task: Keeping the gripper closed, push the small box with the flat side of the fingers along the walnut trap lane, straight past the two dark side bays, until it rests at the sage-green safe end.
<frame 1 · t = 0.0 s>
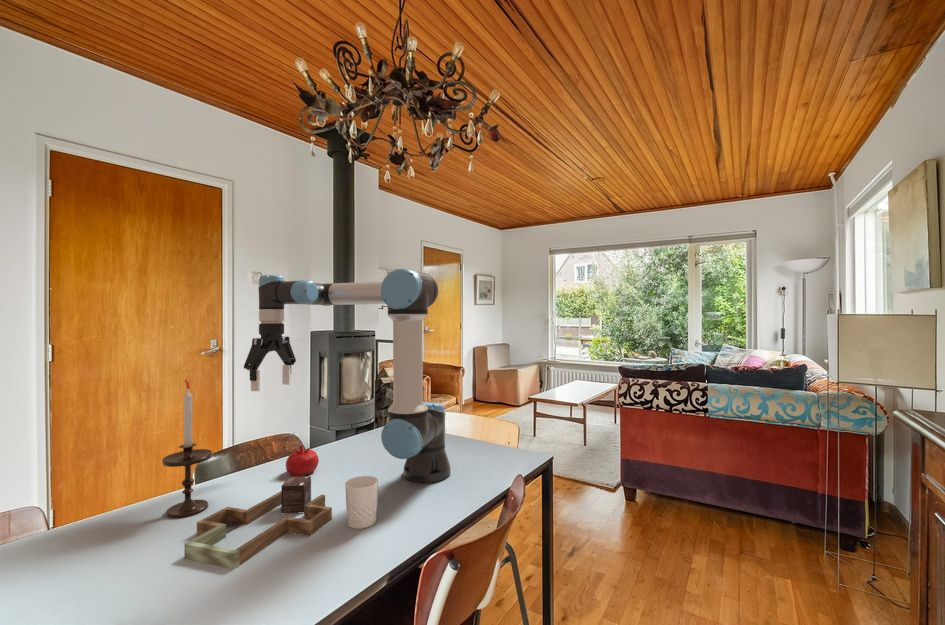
hand: (271, 387, 137), 28 cm above the table, fingers open, 13 cm apart
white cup: (362, 523, 104), on the table
candlestick: (187, 511, 111), on the table
pomegranate: (302, 473, 137), on the table
trap lane: (268, 526, 102), on the table
box: (296, 509, 112), on the table
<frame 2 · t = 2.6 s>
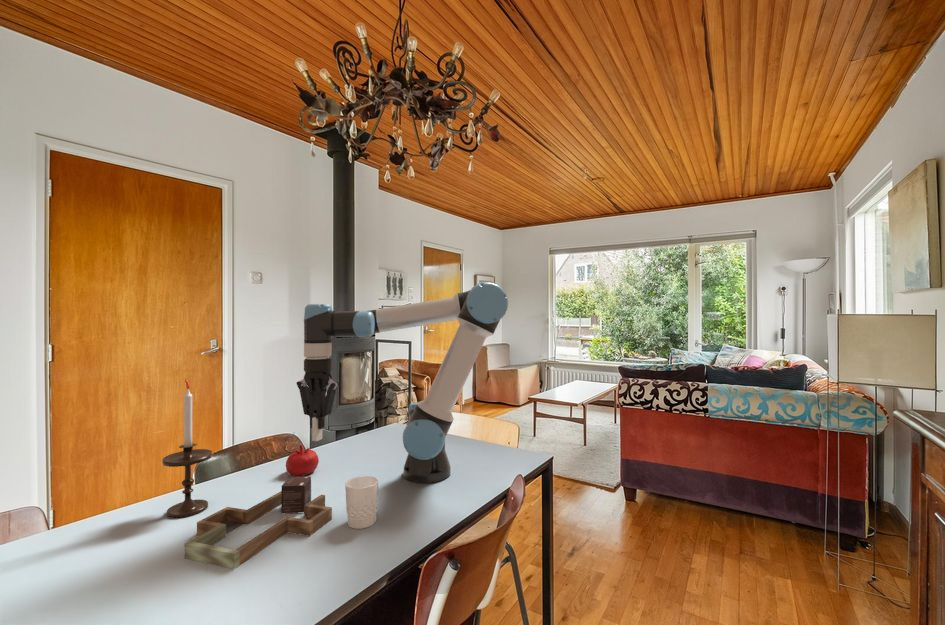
hand: (317, 439, 120), 16 cm above the table, fingers closed
nothing on the table moved.
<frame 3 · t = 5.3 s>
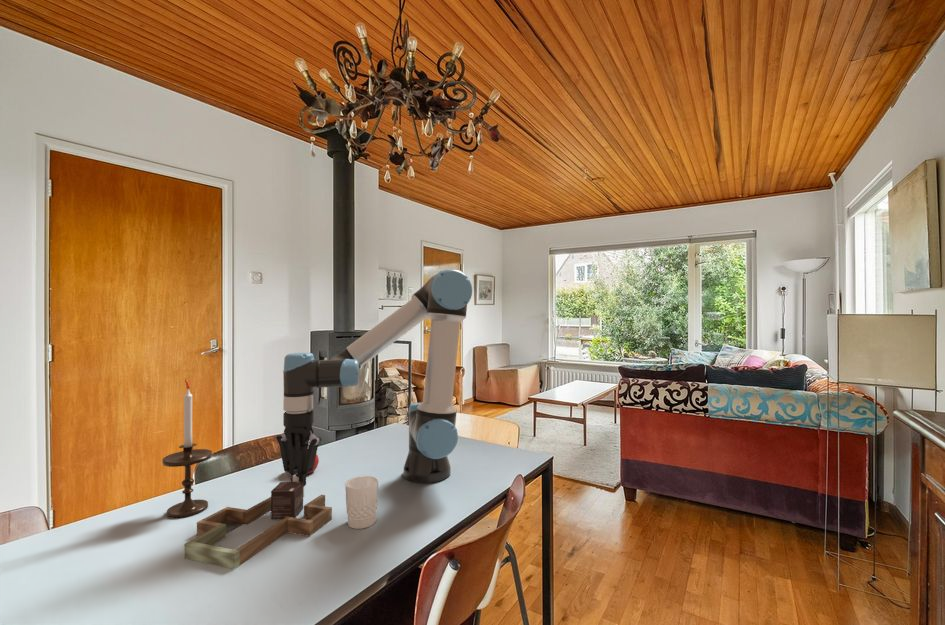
hand: (298, 498, 113), 2 cm above the table, fingers closed
box: (287, 515, 108), on the table, touching gripper
everything else where it was.
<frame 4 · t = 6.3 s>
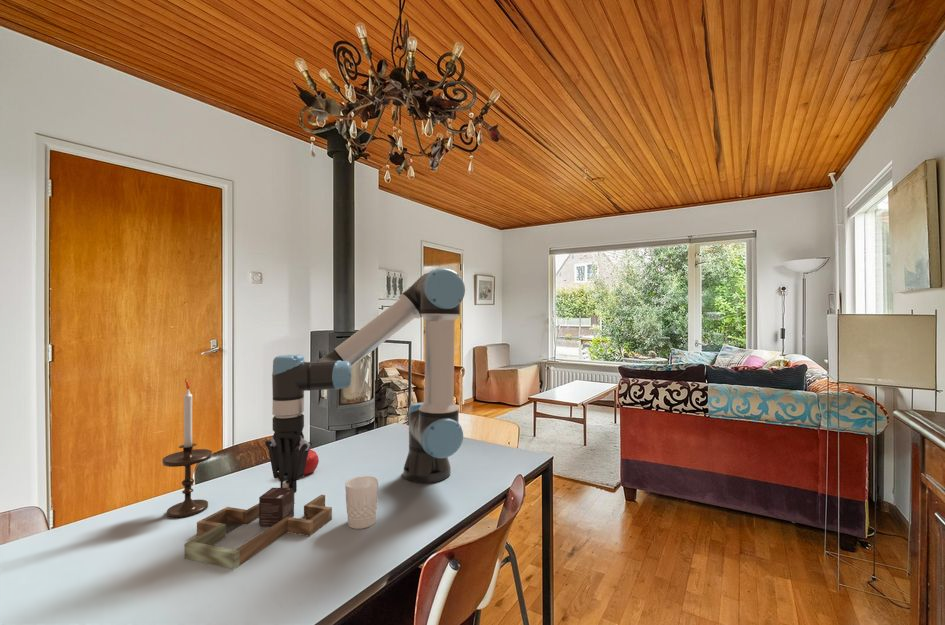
hand: (288, 505, 109), 2 cm above the table, fingers closed
box: (277, 522, 104), on the table, touching gripper
everything else where it was.
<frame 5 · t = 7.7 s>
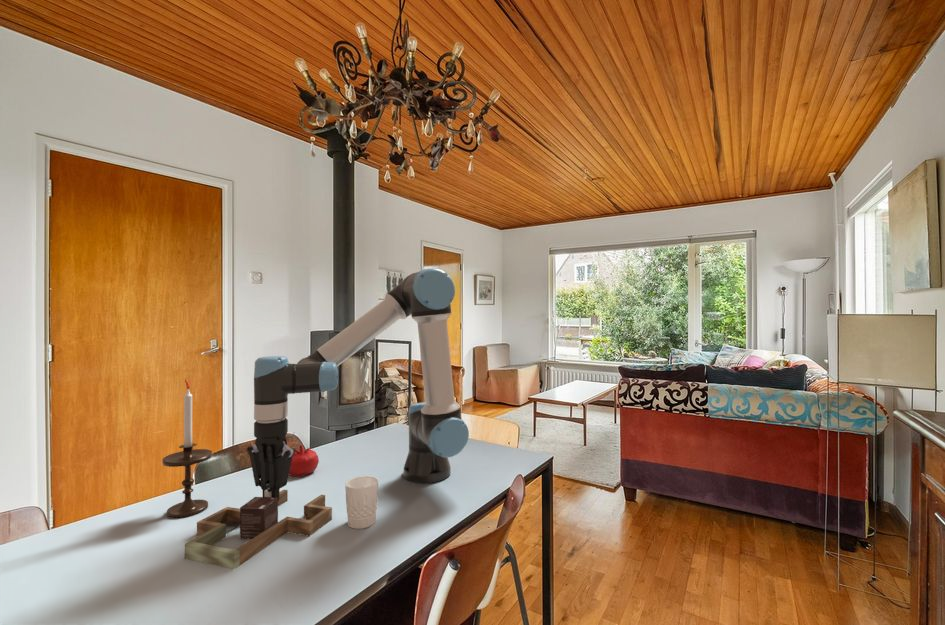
hand: (270, 515, 103), 2 cm above the table, fingers closed
box: (259, 534, 98), on the table, touching gripper
everything else where it was.
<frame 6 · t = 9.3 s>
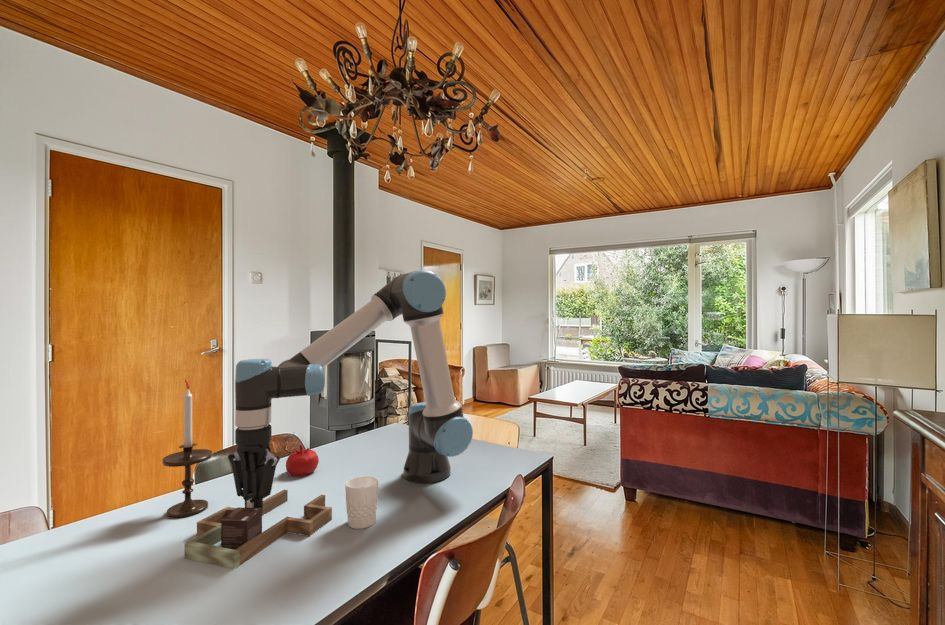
hand: (253, 526, 98), 2 cm above the table, fingers closed
box: (242, 547, 93), on the table
everything else where it was.
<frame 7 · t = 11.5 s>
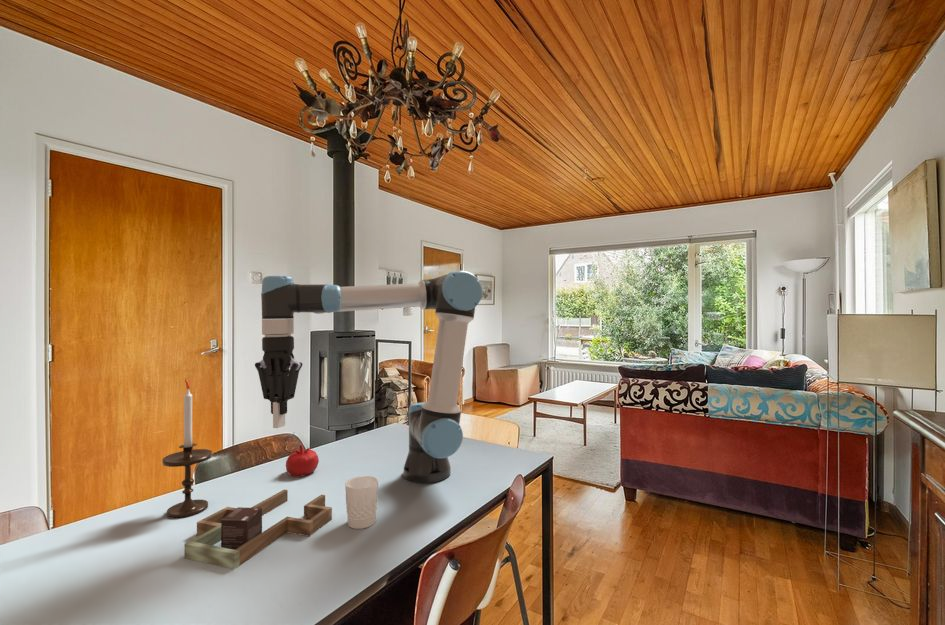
hand: (279, 426, 109), 23 cm above the table, fingers closed
nothing on the table moved.
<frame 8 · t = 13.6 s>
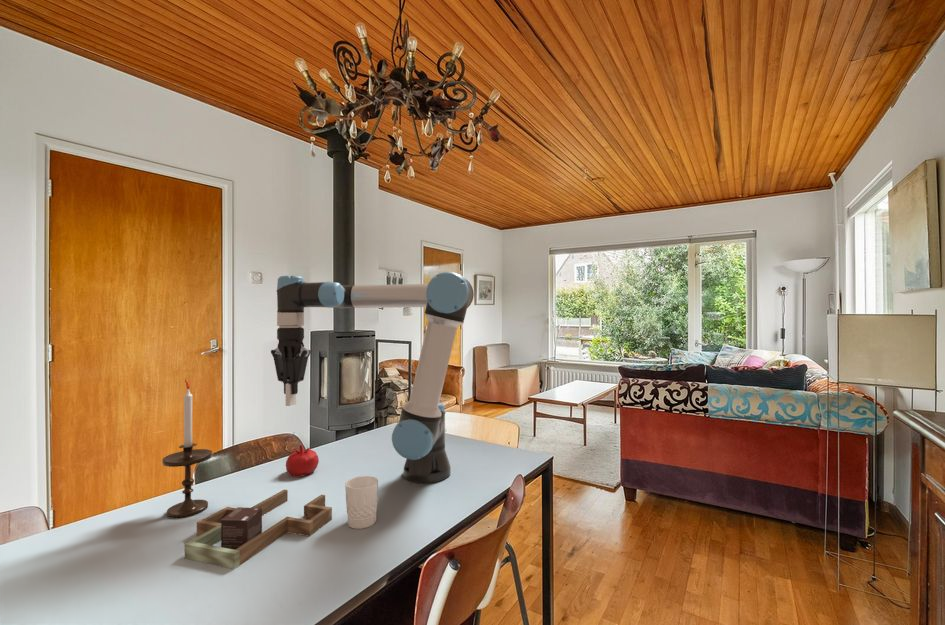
hand: (290, 404, 127), 24 cm above the table, fingers closed
nothing on the table moved.
at the end: box inside the target area on the trap lane (1.7 cm from its centre), point 0.0 cm above the trap lane's base; box tilted 0° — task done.
